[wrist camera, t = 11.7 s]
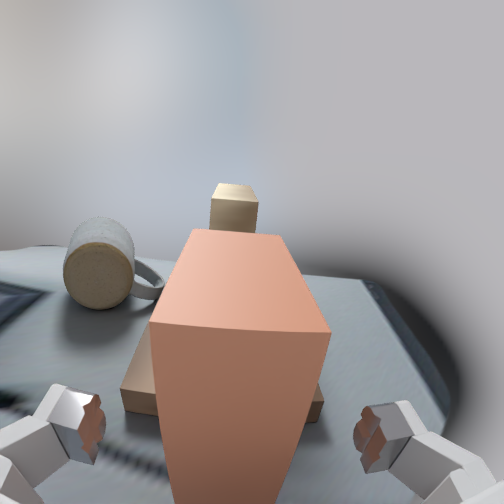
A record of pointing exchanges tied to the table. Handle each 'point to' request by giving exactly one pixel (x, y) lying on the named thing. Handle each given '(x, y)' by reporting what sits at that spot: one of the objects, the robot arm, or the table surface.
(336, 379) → the table surface
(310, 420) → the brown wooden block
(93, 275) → the ceramic mug
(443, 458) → the robot arm
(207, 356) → the block
